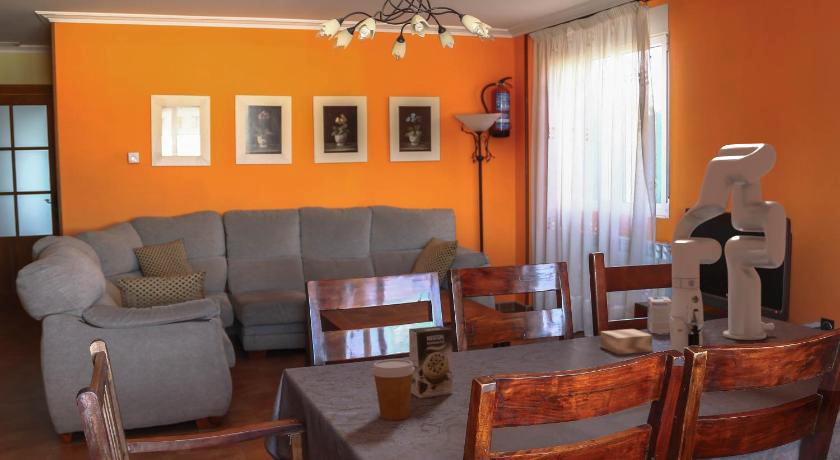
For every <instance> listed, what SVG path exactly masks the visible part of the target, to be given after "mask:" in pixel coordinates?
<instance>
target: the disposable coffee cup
mask: <svg viewBox="0 0 840 460" xmlns="http://www.w3.org/2000/svg"><path fill="white" fill-rule="evenodd" d="M414 370H415V368H414V367H413V364H412V362H411V361H410V359H409V360H408V359H402V358H401V359H398V358H392V359H391V358H390V359H384V360H379V361H376V362H374V363H373V367H372V369H371V372H372V375H374V382H375V388H376V395H377V401H378V407H379V408H378V409H379V413H380V414H379V415H380V418H381V419H383V420H387V421H399V420H400V421H401V420H404V419H407V418H408V417H410V405H411V394H412V393H411V386H412V375H413V372H414Z"/></svg>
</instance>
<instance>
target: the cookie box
mask: <svg viewBox="0 0 840 460" xmlns="http://www.w3.org/2000/svg"><path fill="white" fill-rule="evenodd" d="M452 332H453V331H452V329H451V328H449V327H446V326H442V325H437V326H436V325H435V326H427V327H417V328H416V327H415V328H409V329H408V337H409V338H408V339H409V340H408V342H409V343H408V344H409V346H408V347H409V349H408V350H409V356H408V357H409V361H411V362H412V364H413V367H414V368H415V370H414V372H413V375H412V386H411V394H412V395H414V396H416V397H417V398H419V399H422V398H429V397H430V398H431V397H437V396H445V395H452V394H454V393H453V392H454V390H453V389H454V387H453V385H454V383H453V345H452V344H453V343H452V340H453V339H452Z"/></svg>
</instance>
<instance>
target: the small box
mask: <svg viewBox="0 0 840 460" xmlns="http://www.w3.org/2000/svg"><path fill="white" fill-rule="evenodd" d="M691 323H695V320H694V321H691ZM693 328H694V326H692V329H693ZM688 334H690V332H689V329H688V325H687V324H685V323H684V321H683V320H682V319H679V318H675V317H670V334H669V337H670V338H669V339H670V340H669V341H670V342H669V344H670V350H671V349H677V350H679V351H682V350H683V348H684V347H687V346H688ZM699 345H702V346H703V328H702V329H701V331H700V334H699Z"/></svg>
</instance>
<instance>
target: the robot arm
mask: <svg viewBox="0 0 840 460" xmlns="http://www.w3.org/2000/svg"><path fill="white" fill-rule="evenodd" d="M776 162H777V152H776V150H775V148H774V147H773V146H772V144H768V143H739V144H738V143H737V144H729V145H725V146H722V147H721V148H720V149H719V150H718V152H717V157H714V158H713V159H712V158H711V160H710V161H709V162H708V164H707V167H706V169H705V173H704V177H703V181H702V184H701V188H700V193H699V195H698V198H697V202H696V203H695V204H694V205H692V207H690V208H689V209H688V210H687V211H686V212H685V213H684V215H683V216H682V217H680V219H679V221H678V222H677V223H676V225H675V227H674V230H673V234H672V238H671V243H670V255H671V289H672V290H671V299H670V300H671V312H670V313H669V316H670V317H675V318H679V319H682V320H683V321H684V323H685V324H687V325H688V329H689V332H690V334H688V346H691V345H699V334H700V331H701V329H702V330H703V326H704V323H705V321H704V305H703V298H702V297H703V296H702V291H701V289H700V285H701V284H700V265H706V264H707V265H711V264H714V263H716V262H718V260H719V259H720V258H721V257H722V251H723V249H722V245H721V244H720V242H719V241H718V240H717V239H714V238H712V237H711V238H710V237H696V236H695V237H694V236H692V233H693V231H695V229H696V228H697V227H698V226H699V225H701V224H703V223H705V222H706V221H709V220H711V219H713V218H715V217H716V218H717V217H718V216H719V215H723V214H724V213H725V212H726V211H727V209H728V207H729V202H730V199H731V218H730V219H731V225H732V227H733V229H735V230H737V231H740V232H749V233H750V232H751V233H752V232H753V233H754V232H756V233H764V236H756V235H755V236H754V235H735V236H732V237H731V238H729V239H728V240H727V241H726V243H725V246H724V256H725V261H726V266H727V283H728V284H727V288H728V289H727V291H728V293H727V295H728V296H727V301H728V302H727V303H728V305H727V306H728V307H727V310H728V312H727V315H728V316H727V317H728V318H727V320H728V322H727V323H728V325H727V327H728V329H727V330H724V331H723V332H722V335H723V337H724V338H727V339H731V340H737V341H738V340H739V341H740V340H741V341H756V340H757V341H758V340H763V339H766V338H767V333H766V332H765V331H766V330H774V329H775V324H774V323H773V322H770V323H769V322H767V323H765V322H763V321H762V305H761V304H762V296H761V295H762V283H761V278H760V275H759V273H758V271H756V269H755V268H762V269H777V268H779V267H781V266H782V265H783V262H784V259H785V257H786V256H785V254H786V237H787V235H786V234H787V214H786V210H785V207H784V206H783V205H782V203H780V202H777V201H775V200H774V201H773V200H762V183H761V178H763V177H764V176H765V175H767V174H768V173H770V172H771V170H773V168H774V167H775V164H776ZM694 320H695V323H691V321H694ZM692 326H694V328H693V329H692Z"/></svg>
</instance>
